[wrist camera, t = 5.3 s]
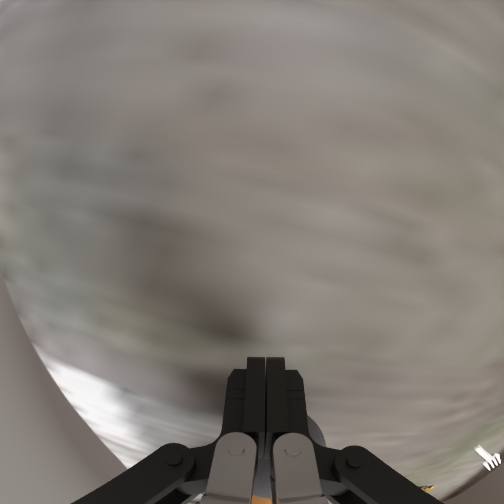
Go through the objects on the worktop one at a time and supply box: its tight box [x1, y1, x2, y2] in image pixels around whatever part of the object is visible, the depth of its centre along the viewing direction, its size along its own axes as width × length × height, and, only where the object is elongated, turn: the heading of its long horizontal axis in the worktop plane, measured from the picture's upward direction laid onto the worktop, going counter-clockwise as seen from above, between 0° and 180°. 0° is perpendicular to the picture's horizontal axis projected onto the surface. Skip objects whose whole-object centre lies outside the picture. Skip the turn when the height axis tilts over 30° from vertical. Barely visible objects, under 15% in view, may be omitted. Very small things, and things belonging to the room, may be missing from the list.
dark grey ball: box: [253, 415, 326, 499], centre depth 13 cm, size 6×6×6 cm
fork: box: [473, 444, 501, 471], centre depth 24 cm, size 3×20×2 cm, turn 46°
